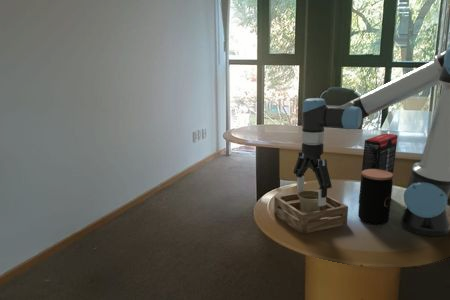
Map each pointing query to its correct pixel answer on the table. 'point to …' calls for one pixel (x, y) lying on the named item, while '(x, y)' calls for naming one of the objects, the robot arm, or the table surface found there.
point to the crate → (310, 214)
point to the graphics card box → (380, 153)
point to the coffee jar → (375, 196)
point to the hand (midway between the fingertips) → (310, 199)
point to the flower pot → (309, 201)
